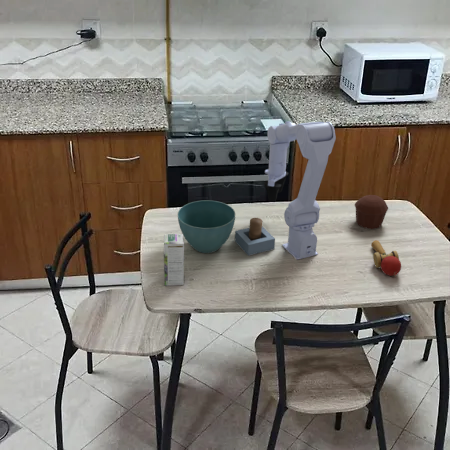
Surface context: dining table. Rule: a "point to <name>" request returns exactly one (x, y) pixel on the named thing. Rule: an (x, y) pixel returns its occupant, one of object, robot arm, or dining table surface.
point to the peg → (255, 229)
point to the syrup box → (173, 259)
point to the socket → (254, 241)
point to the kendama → (386, 259)
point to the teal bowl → (206, 224)
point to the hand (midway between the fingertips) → (275, 196)
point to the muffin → (370, 211)
